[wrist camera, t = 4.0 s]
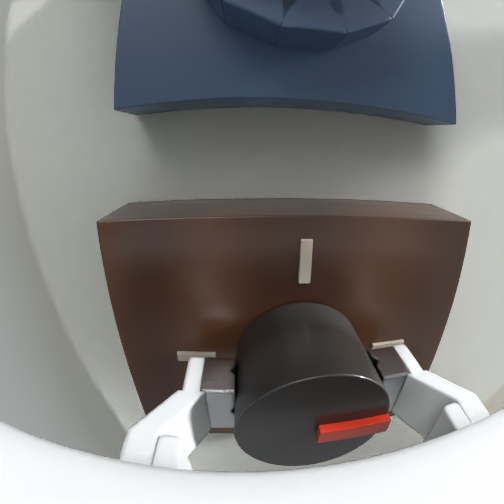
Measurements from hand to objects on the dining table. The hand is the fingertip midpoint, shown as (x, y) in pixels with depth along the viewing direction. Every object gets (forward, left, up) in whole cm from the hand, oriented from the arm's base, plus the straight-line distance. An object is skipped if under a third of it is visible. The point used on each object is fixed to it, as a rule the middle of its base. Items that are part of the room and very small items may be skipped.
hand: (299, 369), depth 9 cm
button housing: (0, +13, -4) cm, 14 cm away
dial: (0, 0, -1) cm, 1 cm away
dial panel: (0, 0, -4) cm, 4 cm away
